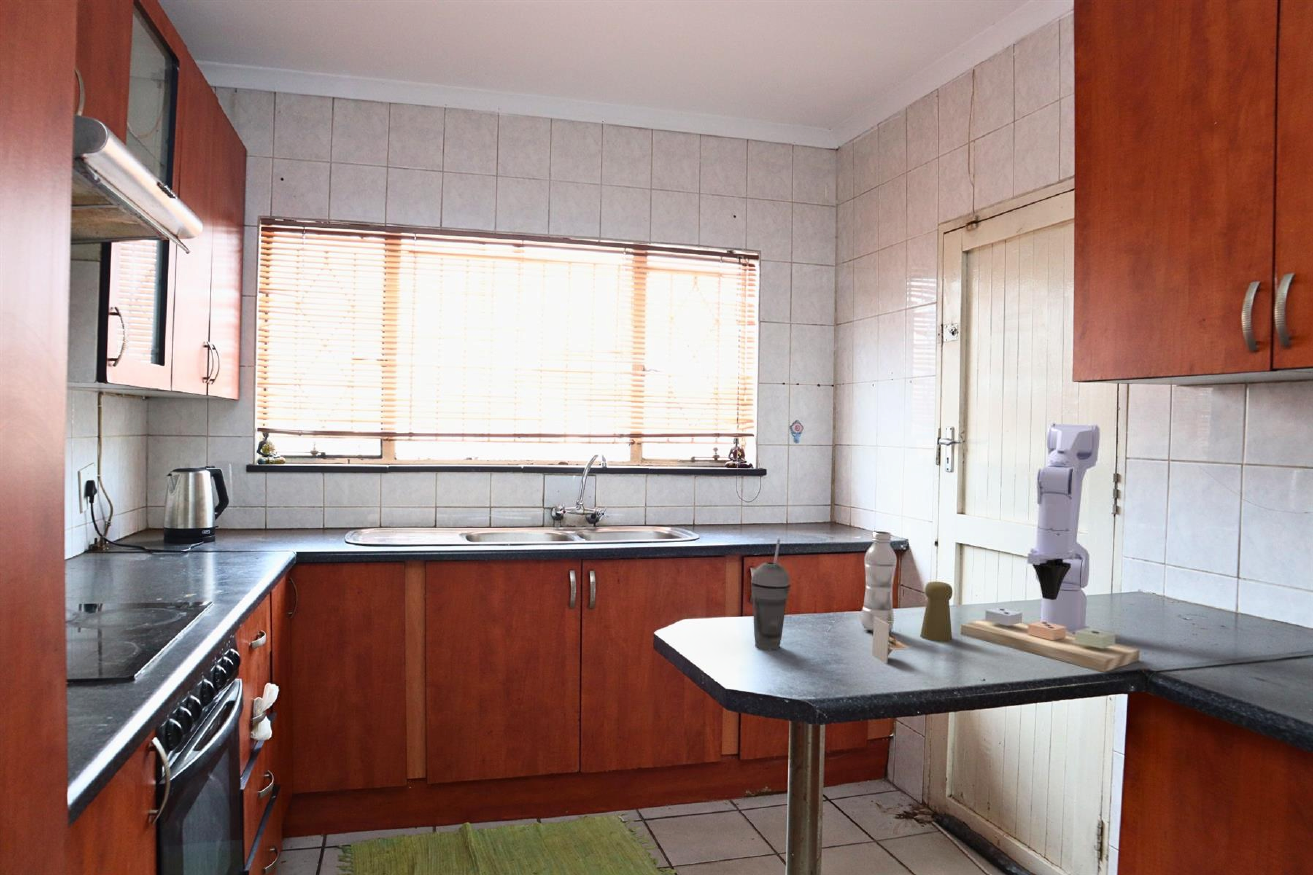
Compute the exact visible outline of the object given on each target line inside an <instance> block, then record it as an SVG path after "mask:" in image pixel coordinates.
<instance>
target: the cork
mask: <svg viewBox="0 0 1313 875" xmlns="http://www.w3.org/2000/svg"><path fill="white" fill-rule="evenodd" d="M953 592H954V591H953V587H952V586H951V584H949V583H946V582H943V581H929V582H927V584H926V585H925V588H924V594H925V596H926V598H927V600H926V603H925V610H924V615H923V621H922V626H921V631H920V635H919V636H920V638H922V639H925V640H928V641H932V642H939V643H941V642H944V643H948V642H951V641H953V636H952V635H953V632H952V621H951V620H952V619H951V618H952V617H951V608H950V600H951V599H952V596H953Z"/></svg>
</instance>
